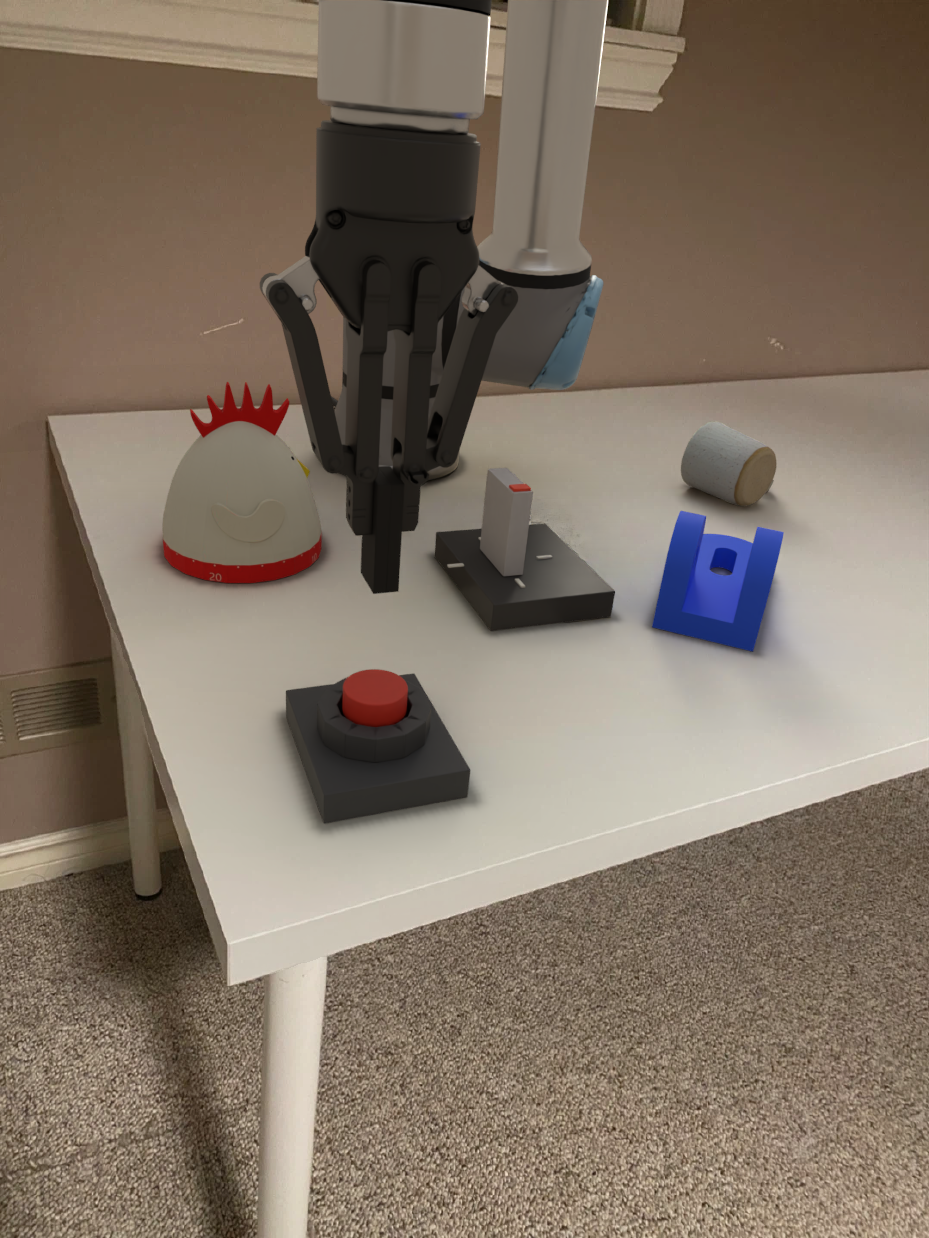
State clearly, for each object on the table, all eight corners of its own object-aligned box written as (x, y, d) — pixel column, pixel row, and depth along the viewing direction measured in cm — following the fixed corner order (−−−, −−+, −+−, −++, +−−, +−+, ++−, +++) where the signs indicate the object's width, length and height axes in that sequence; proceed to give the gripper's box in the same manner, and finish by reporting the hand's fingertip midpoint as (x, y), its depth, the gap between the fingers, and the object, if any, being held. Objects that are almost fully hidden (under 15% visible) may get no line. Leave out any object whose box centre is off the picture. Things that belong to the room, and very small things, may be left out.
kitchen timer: (332, 578, 82) (334, 408, 74) (165, 588, 78) (150, 410, 70) (308, 513, 93) (308, 361, 86) (162, 519, 89) (149, 360, 82)
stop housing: (285, 716, 64) (285, 666, 62) (412, 698, 67) (415, 650, 65) (323, 824, 55) (324, 770, 53) (467, 797, 58) (473, 745, 56)
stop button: (335, 696, 60) (335, 673, 59) (395, 687, 61) (397, 665, 61) (351, 732, 57) (352, 709, 56) (414, 723, 58) (416, 699, 57)
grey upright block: (479, 548, 83) (487, 465, 80) (498, 547, 84) (507, 464, 80) (503, 576, 79) (513, 490, 75) (522, 574, 80) (533, 489, 76)
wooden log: (733, 515, 102) (751, 447, 98) (673, 490, 107) (687, 424, 103) (787, 498, 108) (805, 433, 104) (727, 475, 113) (743, 412, 110)
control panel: (420, 557, 87) (421, 531, 85) (541, 546, 91) (545, 521, 90) (475, 633, 75) (478, 604, 74) (611, 617, 80) (616, 589, 78)
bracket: (753, 651, 77) (780, 551, 72) (651, 627, 79) (672, 528, 74) (769, 564, 92) (792, 477, 87) (683, 546, 94) (702, 460, 89)
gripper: (499, 127, 48) (461, 546, 60) (241, 105, 44) (253, 563, 55) (563, 137, 42) (508, 601, 54) (271, 113, 38) (278, 625, 49)
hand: (379, 581), depth 54 cm, fingers closed
